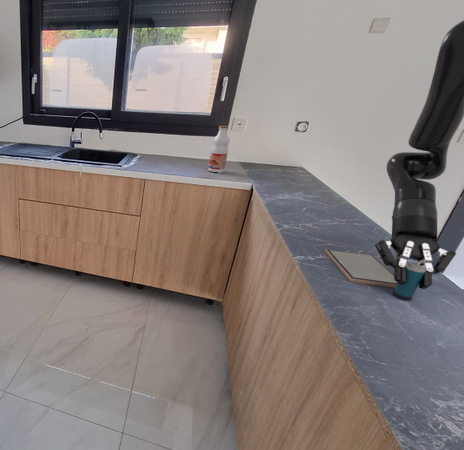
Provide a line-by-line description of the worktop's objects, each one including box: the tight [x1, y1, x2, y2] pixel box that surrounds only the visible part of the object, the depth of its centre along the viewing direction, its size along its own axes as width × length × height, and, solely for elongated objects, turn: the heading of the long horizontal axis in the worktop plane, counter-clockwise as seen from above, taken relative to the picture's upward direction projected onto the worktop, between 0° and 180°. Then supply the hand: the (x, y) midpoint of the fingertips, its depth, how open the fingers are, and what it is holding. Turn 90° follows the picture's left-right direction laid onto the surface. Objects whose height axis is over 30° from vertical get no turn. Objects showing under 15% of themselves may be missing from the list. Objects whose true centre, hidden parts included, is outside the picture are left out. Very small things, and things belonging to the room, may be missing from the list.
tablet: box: [324, 248, 397, 289], centre depth 88 cm, size 12×18×1 cm, turn 160°
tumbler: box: [392, 263, 426, 302], centre depth 75 cm, size 3×3×8 cm
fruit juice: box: [207, 125, 230, 174], centre depth 193 cm, size 9×9×28 cm
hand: (412, 285), depth 73 cm, fingers closed on tumbler, 3 cm apart
